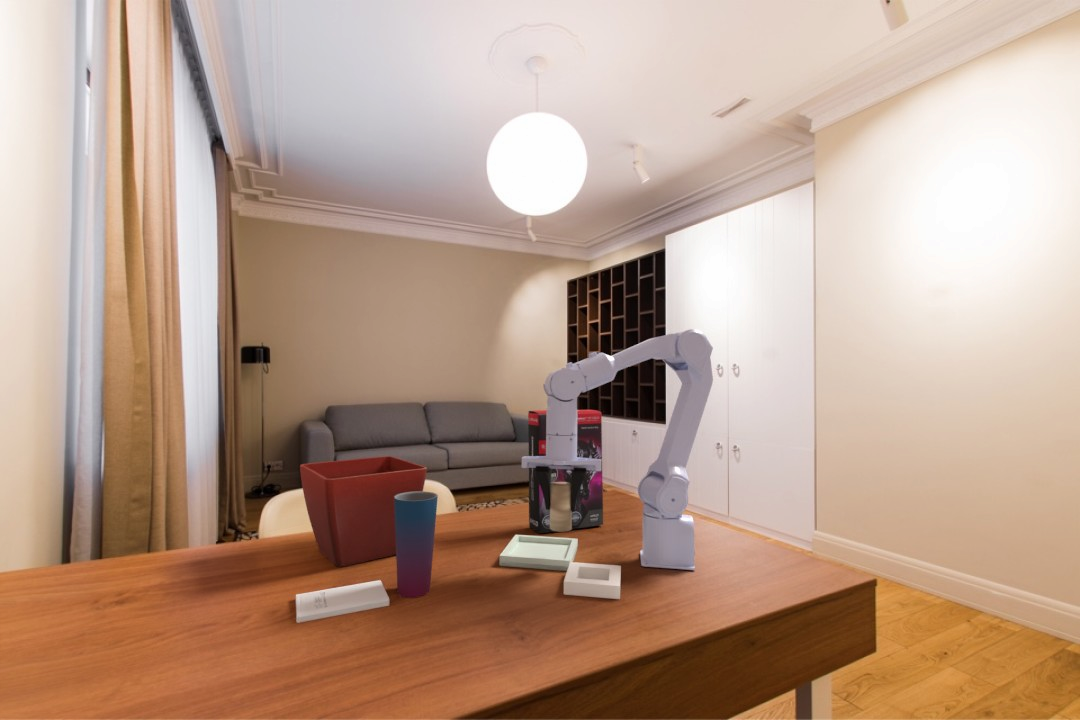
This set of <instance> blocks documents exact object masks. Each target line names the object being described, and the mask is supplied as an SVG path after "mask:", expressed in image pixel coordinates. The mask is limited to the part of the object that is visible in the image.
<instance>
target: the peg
mask: <svg viewBox="0 0 1080 720" xmlns="http://www.w3.org/2000/svg"><path fill="white" fill-rule="evenodd" d="M571 499H572V484H571V483H568V482H552V483H550V529H551V530H553V531H555V532H569V531H571V530H573V529H572V511H571Z"/></svg>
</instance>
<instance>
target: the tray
mask: <svg viewBox="0 0 1080 720" xmlns="http://www.w3.org/2000/svg"><path fill="white" fill-rule="evenodd" d="M578 540H579V539H578V538H571V537H559V536H557V537H556V536H541V535H528V534H527V535H526V534H514V536H513V537H512V538H511V540H510V541H509V543H508V544H507V545H506V547H504V549H503V551H502V552H501V553H500V554H499V561H498V562H499V567H511V568H512V567H513V568H523V569H524V568H525V569H526V568H527V569H537V570H538V569H539V570H550V571H552V570H553V571H561V572H562V571H564V572H567V570H568V567H569V564H570V562H575V561H574V560H575V557H576V554H577V551H578V545H579V544H578Z"/></svg>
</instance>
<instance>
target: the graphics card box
mask: <svg viewBox="0 0 1080 720" xmlns="http://www.w3.org/2000/svg"><path fill="white" fill-rule="evenodd" d="M546 412H547V409H545V410H541V409H540V410H528V413H527V417H528V418H527V419H528V422H527V423H528V424H527V425H528V429H527V430H528V433H527V434H528V456H546ZM602 422H603V421H602V412H601V411H599V410H596V409H577V457H581V458H592V459H601V471H595V470H587V473H586V475H585V478H584V480H583V482H582V485H581V487H580V490H579V494H578V497H577V503H576V510H575V511H572V529H571V530H574V529H576V530H577V529H582V528H583V529H584V528H591V527H598V526H603V525H604V498H603V497H604V495H603V494H604V493H603V492H604V491H603V490H604V489H603V488H604V487H603V484H604V483H603V439H602V438H603V437H602V435H603V432H602V431H603V430H602V429H603V428H602V427H603V426H602ZM557 466H571V465H557ZM535 470H536V468H528V518H529V519H528V525H529V528H530V529H532V530H533V531H535V532H537V533H538V534H545V533H546V534H547V533H553V532H556V531H553V530H551V529H550V510H546V507H545V501H544V496H543V493H542V490H541V487H540V485H539V482H538V480H537V478H536V476H535ZM573 470H574V469H552V471H551V483H552V482H568V483H571V484H572V471H573Z"/></svg>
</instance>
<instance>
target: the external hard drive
mask: <svg viewBox="0 0 1080 720" xmlns="http://www.w3.org/2000/svg"><path fill="white" fill-rule="evenodd" d="M387 606H390V597H389V595H388V593H387V591H386V588H385V587H384V584H383V582H382V581H381V579H379V580H373V581H368V582H367V581H366V582H360V583H356V584H351V585H350V584H349V585H344V586H338V587H337V586H336V587H331V588H326V589H321V590H315V591H310V592H309V591H308V592H303V593H296V594H295V616H296V617H295V618H296V619H295V620H296V624H297V623H298V624H299V623H304V622H308V621H315V620H319V619H325V618H330V617H336V616H341V615H346V614H351V613H352V614H353V613H357V612H361V611H367V610H372V609H378V608H383V607H387Z"/></svg>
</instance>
